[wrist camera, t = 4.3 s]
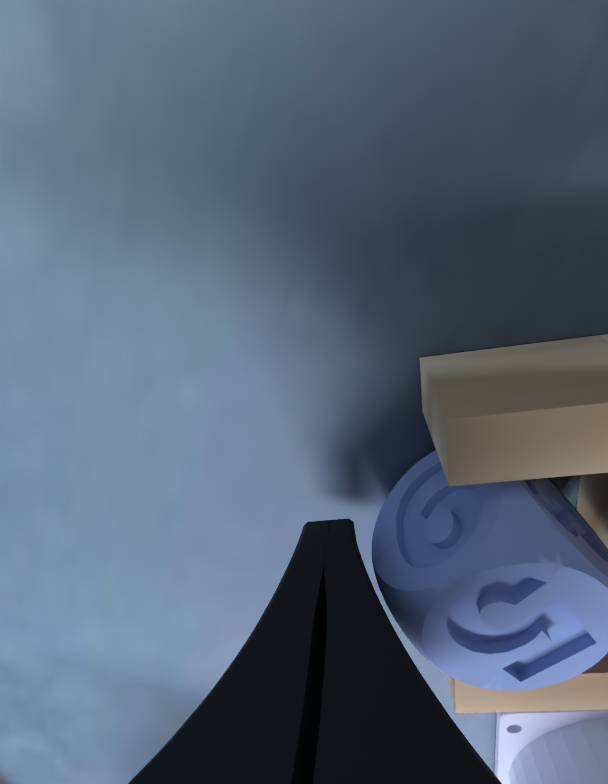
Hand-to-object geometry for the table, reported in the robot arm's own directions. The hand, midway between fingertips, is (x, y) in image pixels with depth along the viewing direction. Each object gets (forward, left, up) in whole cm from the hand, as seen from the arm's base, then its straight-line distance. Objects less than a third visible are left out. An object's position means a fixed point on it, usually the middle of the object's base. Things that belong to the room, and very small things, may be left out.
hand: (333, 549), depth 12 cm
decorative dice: (0, -4, -2) cm, 4 cm away
